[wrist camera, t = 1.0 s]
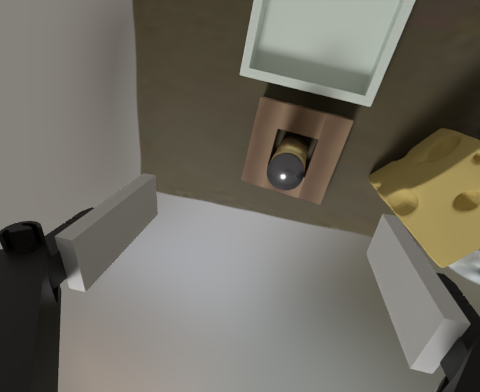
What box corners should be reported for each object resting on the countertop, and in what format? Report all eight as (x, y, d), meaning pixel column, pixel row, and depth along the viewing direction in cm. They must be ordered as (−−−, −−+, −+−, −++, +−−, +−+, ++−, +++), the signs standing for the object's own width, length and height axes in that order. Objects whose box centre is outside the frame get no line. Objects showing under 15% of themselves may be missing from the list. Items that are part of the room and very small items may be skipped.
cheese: (365, 175, 36) (381, 205, 28) (445, 121, 32) (494, 136, 23) (411, 227, 38) (440, 272, 29) (494, 182, 33) (560, 220, 24)
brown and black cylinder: (311, 139, 36) (309, 160, 27) (302, 166, 38) (297, 194, 28) (283, 132, 37) (271, 150, 27) (276, 158, 39) (262, 184, 29)
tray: (433, -61, 26) (449, -80, 23) (365, 104, 33) (370, 107, 30) (278, -84, 28) (273, -104, 25) (246, 75, 35) (239, 74, 32)
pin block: (351, 118, 34) (353, 120, 32) (319, 197, 39) (319, 204, 37) (263, 96, 36) (260, 97, 34) (244, 175, 41) (240, 180, 39)
